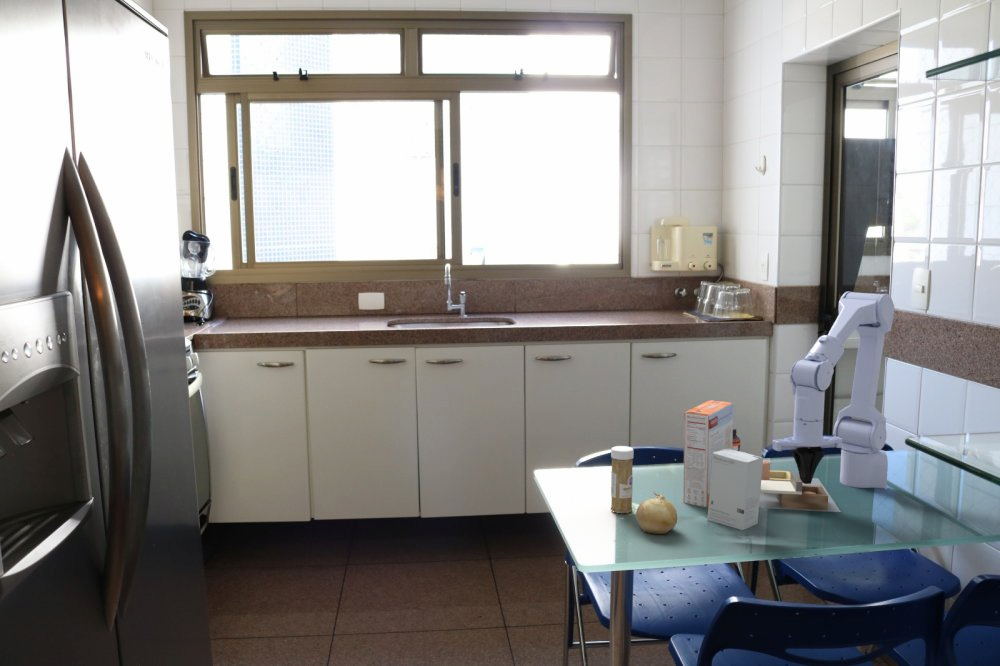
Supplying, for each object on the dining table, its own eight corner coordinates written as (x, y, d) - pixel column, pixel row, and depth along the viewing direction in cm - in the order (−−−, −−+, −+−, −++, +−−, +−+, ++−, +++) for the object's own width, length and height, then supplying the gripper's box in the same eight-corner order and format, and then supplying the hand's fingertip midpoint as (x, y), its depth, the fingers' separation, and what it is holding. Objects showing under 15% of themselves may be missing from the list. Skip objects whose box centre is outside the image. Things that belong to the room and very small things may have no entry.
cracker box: (706, 490, 189) (708, 398, 187) (732, 495, 186) (735, 402, 183) (680, 507, 178) (683, 410, 175) (708, 513, 175) (711, 414, 172)
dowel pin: (768, 486, 188) (769, 460, 187) (770, 491, 185) (771, 464, 184) (751, 485, 189) (752, 459, 188) (753, 490, 185) (754, 464, 185)
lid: (796, 484, 180) (796, 472, 180) (801, 494, 173) (802, 482, 173) (757, 482, 181) (757, 470, 181) (761, 492, 175) (761, 480, 174)
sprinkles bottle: (630, 515, 173) (631, 451, 172) (608, 513, 175) (609, 449, 173) (634, 508, 178) (635, 446, 176) (612, 506, 179) (613, 444, 177)
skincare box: (706, 525, 168) (708, 452, 166) (723, 518, 172) (725, 446, 170) (744, 536, 162) (747, 461, 160) (760, 529, 166) (763, 455, 164)
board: (817, 483, 194) (818, 471, 194) (840, 517, 172) (841, 504, 172) (745, 480, 197) (746, 468, 197) (759, 513, 175) (759, 500, 174)
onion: (684, 535, 163) (685, 500, 162) (647, 540, 160) (647, 504, 159) (665, 521, 170) (666, 487, 169) (628, 525, 168) (629, 491, 167)
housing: (820, 499, 180) (821, 485, 179) (827, 510, 173) (828, 496, 172) (776, 497, 181) (776, 483, 181) (781, 508, 174) (782, 494, 174)
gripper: (829, 412, 180) (826, 474, 181) (766, 415, 177) (763, 478, 179) (849, 420, 173) (845, 484, 174) (783, 423, 170) (780, 488, 172)
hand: (805, 482), depth 176 cm, fingers closed
